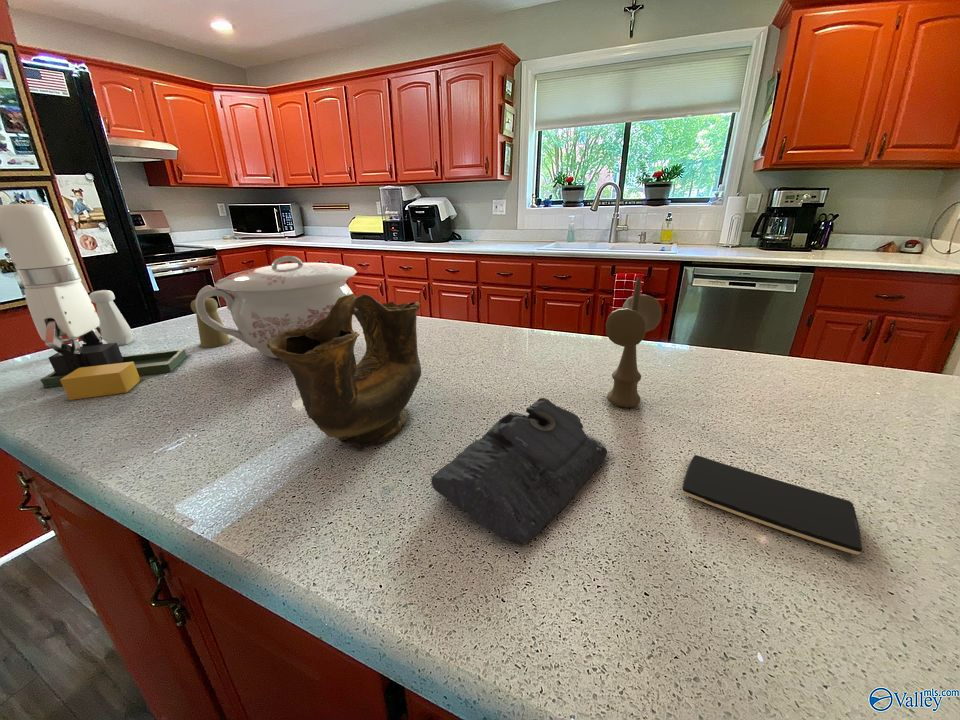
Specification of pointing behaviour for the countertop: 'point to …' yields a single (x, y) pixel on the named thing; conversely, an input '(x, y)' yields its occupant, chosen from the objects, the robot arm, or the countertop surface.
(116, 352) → the charcoal pad
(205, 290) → the chamber pot
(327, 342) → the pottery vessel
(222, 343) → the olive knobbed cylinder
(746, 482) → the smartphone
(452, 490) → the dark slate chunk
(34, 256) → the robot arm
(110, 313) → the salt shaker
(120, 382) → the mustard pad
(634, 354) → the kendama
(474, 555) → the countertop surface
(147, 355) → the tray
